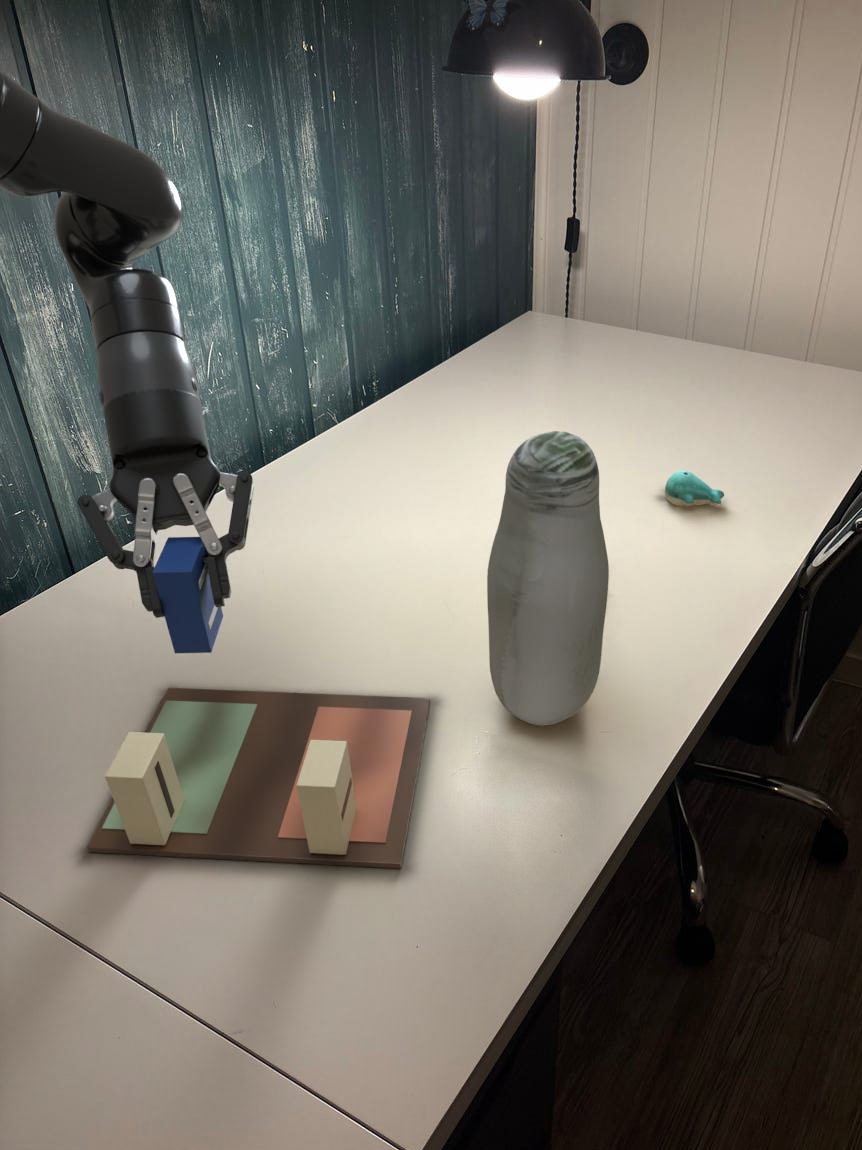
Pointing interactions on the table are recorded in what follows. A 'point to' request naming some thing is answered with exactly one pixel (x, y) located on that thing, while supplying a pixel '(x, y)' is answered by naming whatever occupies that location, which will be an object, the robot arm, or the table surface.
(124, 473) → the robot arm
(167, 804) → the tile
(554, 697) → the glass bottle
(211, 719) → the brown flat rectangular board
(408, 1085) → the table surface
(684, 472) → the whale figurine
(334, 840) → the tile
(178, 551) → the blue rectangular block
